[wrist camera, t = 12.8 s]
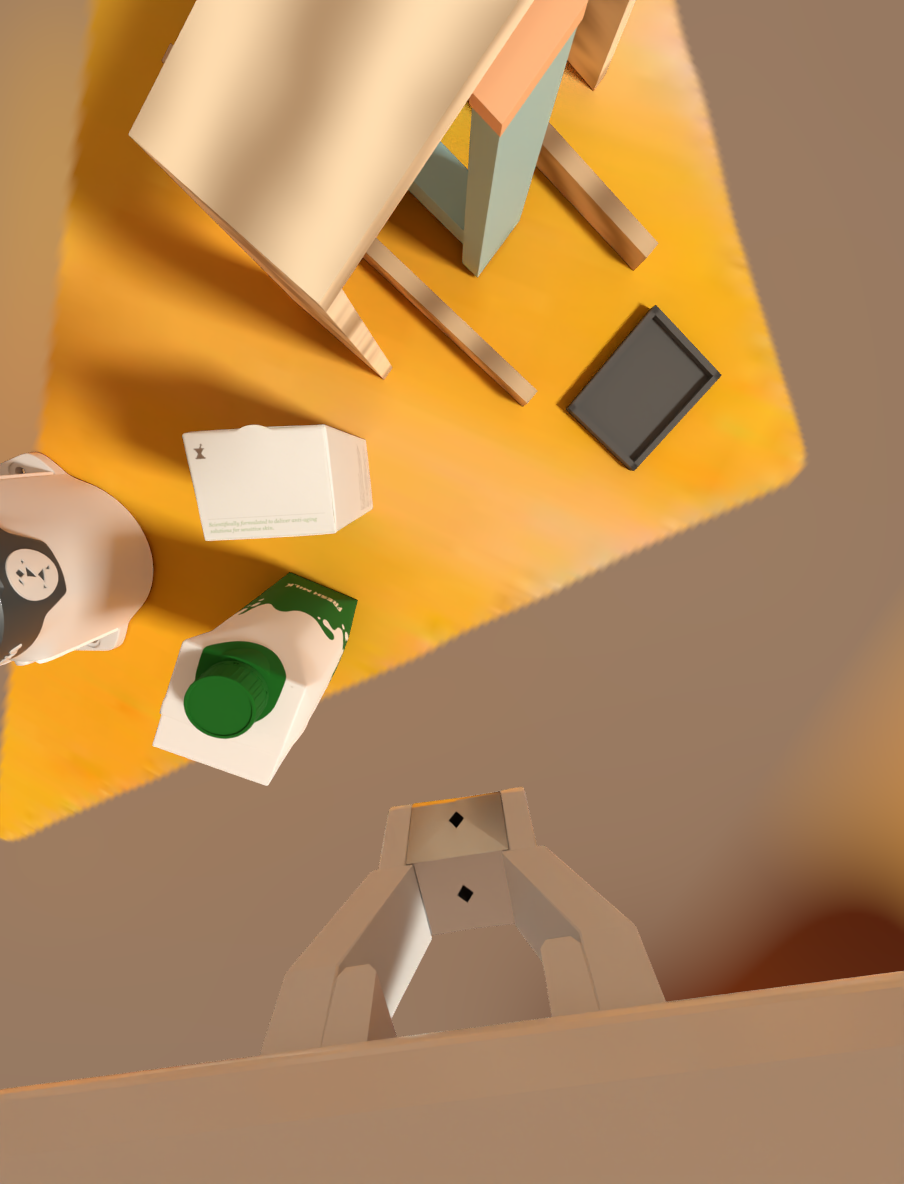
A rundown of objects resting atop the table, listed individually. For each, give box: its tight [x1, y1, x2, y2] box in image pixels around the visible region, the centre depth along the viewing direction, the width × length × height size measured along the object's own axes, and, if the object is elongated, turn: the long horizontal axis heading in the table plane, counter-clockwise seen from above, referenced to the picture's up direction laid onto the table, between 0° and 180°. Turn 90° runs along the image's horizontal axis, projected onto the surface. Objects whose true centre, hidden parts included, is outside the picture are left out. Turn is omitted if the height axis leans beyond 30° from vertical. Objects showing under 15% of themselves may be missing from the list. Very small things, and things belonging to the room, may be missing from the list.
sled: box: [408, 0, 588, 277], centre depth 25 cm, size 21×11×18 cm, turn 50°
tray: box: [566, 305, 721, 471], centre depth 39 cm, size 8×10×1 cm
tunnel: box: [128, 0, 658, 406], centre depth 25 cm, size 34×26×20 cm
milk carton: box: [153, 572, 358, 786], centre depth 35 cm, size 9×9×20 cm
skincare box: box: [182, 424, 373, 541], centre depth 34 cm, size 8×7×16 cm
